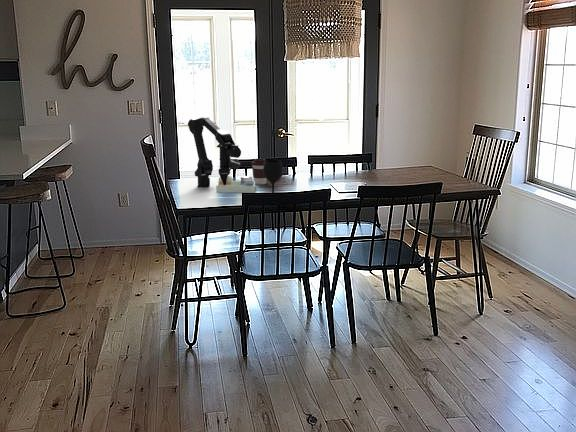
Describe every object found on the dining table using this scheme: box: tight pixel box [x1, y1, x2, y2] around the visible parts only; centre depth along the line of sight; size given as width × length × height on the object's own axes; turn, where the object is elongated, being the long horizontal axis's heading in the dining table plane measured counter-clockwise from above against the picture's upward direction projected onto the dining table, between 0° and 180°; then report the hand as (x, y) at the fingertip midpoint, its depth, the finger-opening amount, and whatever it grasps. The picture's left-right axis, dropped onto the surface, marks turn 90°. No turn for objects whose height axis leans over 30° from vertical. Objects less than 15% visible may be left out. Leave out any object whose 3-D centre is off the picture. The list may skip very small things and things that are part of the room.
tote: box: [215, 180, 256, 193], centre depth 350 cm, size 21×15×4 cm
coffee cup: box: [250, 158, 267, 185], centre depth 368 cm, size 10×10×15 cm
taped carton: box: [218, 175, 233, 186], centre depth 350 cm, size 7×5×7 cm
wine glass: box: [263, 159, 284, 194], centre depth 329 cm, size 10×10×20 cm
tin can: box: [240, 175, 254, 186], centre depth 350 cm, size 7×7×7 cm
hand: (225, 183), depth 350 cm, fingers open, 9 cm apart
